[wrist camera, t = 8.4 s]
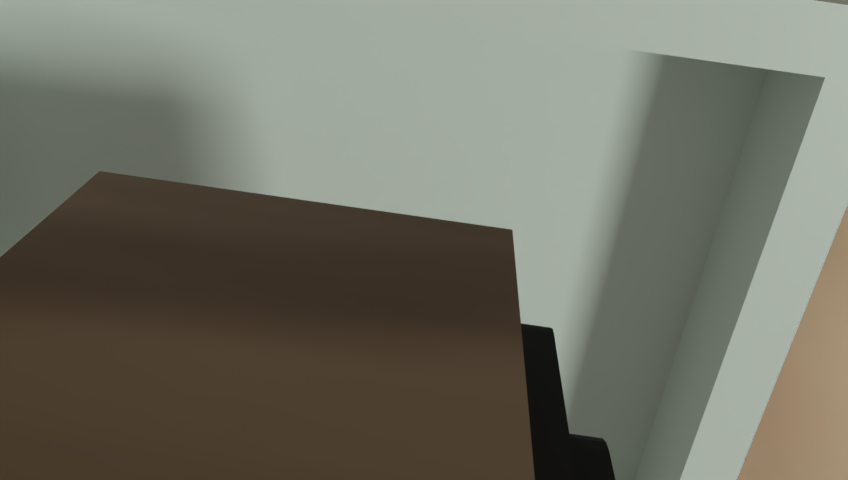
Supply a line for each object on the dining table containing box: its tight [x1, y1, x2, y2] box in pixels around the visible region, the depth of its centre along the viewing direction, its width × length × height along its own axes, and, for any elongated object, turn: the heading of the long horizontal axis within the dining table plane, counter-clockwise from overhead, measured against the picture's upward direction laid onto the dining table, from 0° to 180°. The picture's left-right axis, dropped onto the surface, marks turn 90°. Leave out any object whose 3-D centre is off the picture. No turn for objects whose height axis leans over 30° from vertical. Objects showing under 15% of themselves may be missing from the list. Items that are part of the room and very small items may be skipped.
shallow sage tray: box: [0, 0, 848, 480], centre depth 14 cm, size 16×13×11 cm
